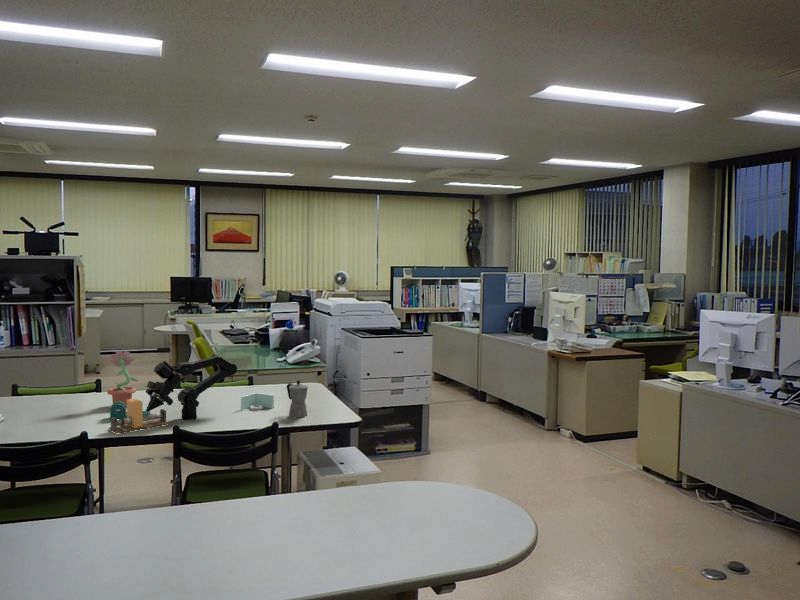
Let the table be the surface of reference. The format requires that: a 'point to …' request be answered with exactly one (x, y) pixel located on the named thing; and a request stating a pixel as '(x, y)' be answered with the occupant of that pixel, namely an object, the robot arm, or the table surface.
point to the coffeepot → (297, 399)
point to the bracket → (122, 412)
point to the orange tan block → (135, 412)
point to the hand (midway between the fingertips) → (146, 411)
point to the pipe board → (160, 420)
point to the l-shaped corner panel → (257, 401)
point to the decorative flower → (125, 391)
